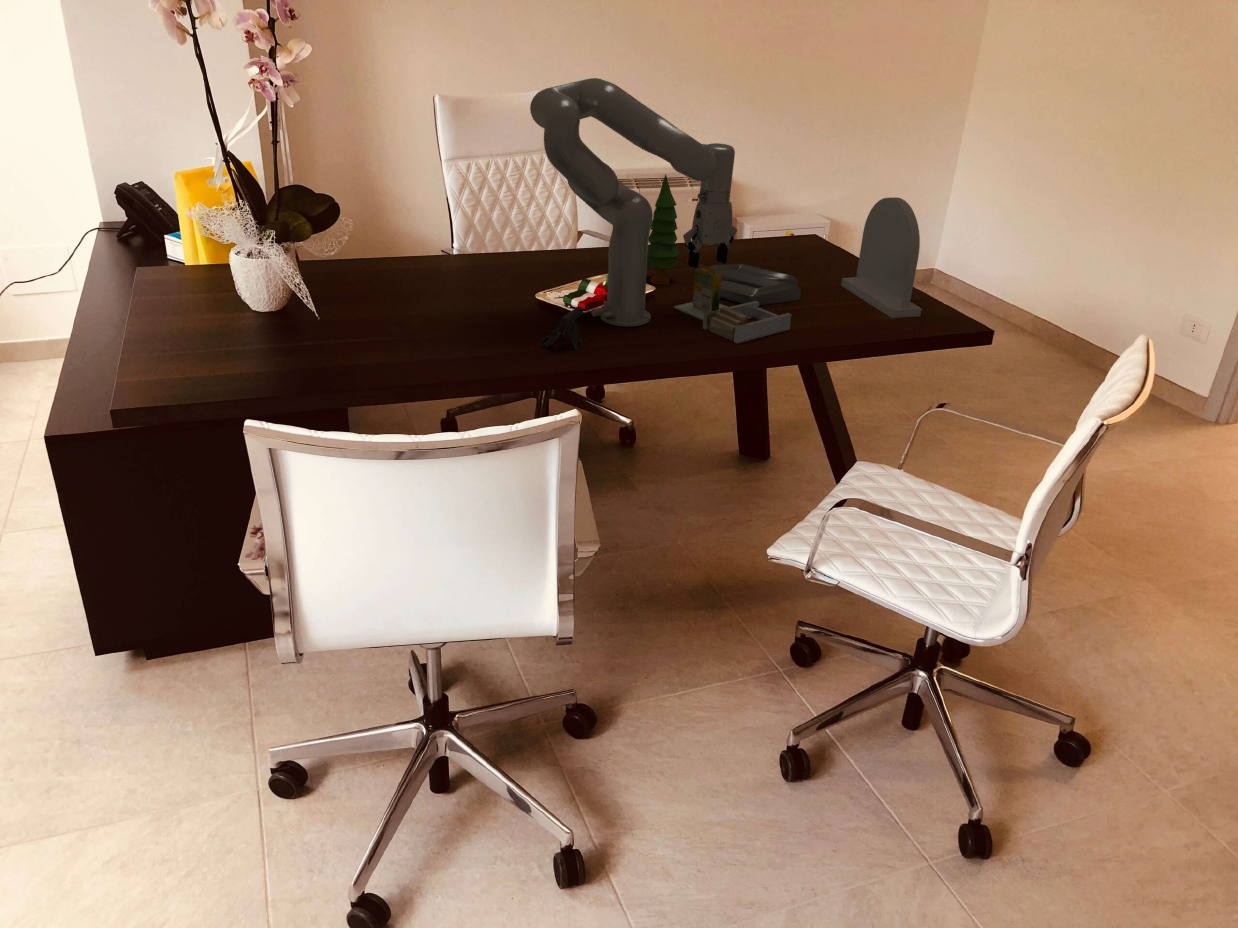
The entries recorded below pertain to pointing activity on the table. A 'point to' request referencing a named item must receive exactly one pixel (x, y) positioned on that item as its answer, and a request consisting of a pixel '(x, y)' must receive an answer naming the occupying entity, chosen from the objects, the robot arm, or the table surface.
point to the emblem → (756, 284)
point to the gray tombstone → (888, 259)
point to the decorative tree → (663, 236)
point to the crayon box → (707, 289)
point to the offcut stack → (726, 322)
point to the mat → (693, 310)
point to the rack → (757, 329)
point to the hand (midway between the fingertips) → (707, 264)
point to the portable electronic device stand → (568, 325)
